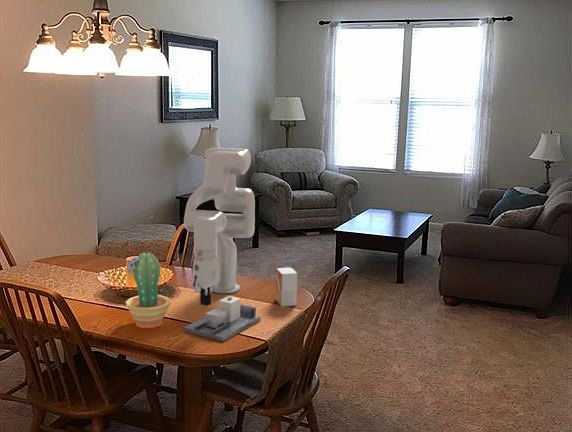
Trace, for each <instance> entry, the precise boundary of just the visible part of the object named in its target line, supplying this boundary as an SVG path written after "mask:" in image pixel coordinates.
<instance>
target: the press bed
mask: <svg viewBox="0 0 572 432" xmlns="http://www.w3.org/2000/svg"><path fill="white" fill-rule="evenodd" d="M260 321H261V316H259V315H257V307H256V306H251V305H247V304H242V303H240V318H238V319H236V320H234V321H232V322H227V323H226V324H224V325H222V326H220V327H218V328H217V329H216V328H212V327H208V326H205V316H204V317H203V318H201V319H198V320H196V321H194V322H192V323H190V324H188V325H186V326H184V332H186V333H189V334H193V335H195V336H196V335H197V336H201V337H205V338H208V339H212V340H215V341H220V342H225V341H227V340H229V339H231V338H232V337H234V336H236V335H238V334H240V333H241V332H244V331H245V330H246V329H248V328H250V327H252V326H253V325H255V324H257V323H258V322H260Z"/></svg>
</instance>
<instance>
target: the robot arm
mask: <svg viewBox="0 0 572 432" xmlns="http://www.w3.org/2000/svg"><path fill="white" fill-rule="evenodd" d="M251 155H252V154H251V153H250V151H249V149H247V148H238V147H235V148H234V147H210V148H208V149H206V151H205V154H204V157H205V161H206V163H205V170H204V175H203V183H202V185H201V186H199V187H198V188H197V189H195V191H193V192H192V194H191V195H190V196H189V197H188V200H187V202H186V206H185V211H184V217H183V224H184V228H185V229H186V230H187V231H188V232H191V233H192V232H193V253H194V254H193V257H194V258H193V264H192V275H191V278H192V279H191V282H192V283H191V284H192V286H193V287H194V290H193V291H194V292H195V293H199V296H200V301H199V303H200V305H201V306H202V305H203V306H205V307H209V306H211V304H212V300H211V299H212V293H215V294H225V295H226V294H232V293H236V292H238V291H239V290H240V289H241V287H240V285H239V284H238V283H237V254H238V252H237V251H238V250H237V249H238V248H237V245H236V244H235V242H234V240H233V238H237V239H249V238H252V237H253V236H254V233H255V229H256V227H255V224H256V223H255V222H256V216H255V215H256V213H255V212H256V209H255V208H256V200H255V195H254V192H253V190H252V189H250V188H246V187H245V188H244V187H237V181H236V180H237V178H236V177H237V176H243V175H245V174H246V173H247V172H248V170H249V169H250V167H251V163H252V156H251ZM236 175H237V176H236ZM213 199H214V206H215V208H216V210H206V209H197V208H198V206H200V205H202V204H203V203H205V202H209V201H210V200H213ZM224 212H234V213H224Z"/></svg>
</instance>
